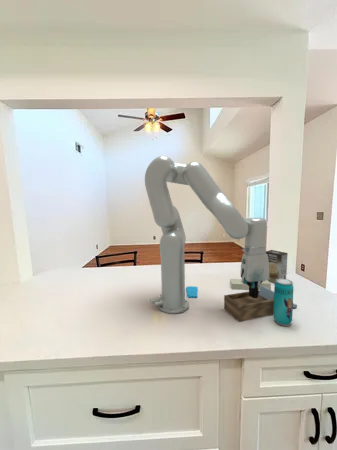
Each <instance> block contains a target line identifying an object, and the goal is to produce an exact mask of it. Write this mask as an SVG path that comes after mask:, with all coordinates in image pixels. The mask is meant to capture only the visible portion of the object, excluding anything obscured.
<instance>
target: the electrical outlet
mask: <svg viewBox="0 0 337 450" xmlns="http://www.w3.org/2000/svg"><path fill="white" fill-rule="evenodd" d="M241 280H242V278H230V279H229V285H230V287H231V290H240V291H241V290H242V291H243V290H244V291H246V290H247V291H249V286H248V285H247V284H243V283H242V282H241ZM261 286H264V287H266V288H268V289H270V290H272V282H269V281H268V280H266V281H264V282H262V283H261V284H260V287H259V288H258V290H259V291H260V288H261Z"/></svg>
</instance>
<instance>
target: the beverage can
mask: <svg viewBox="0 0 337 450" xmlns="http://www.w3.org/2000/svg"><path fill="white" fill-rule="evenodd" d="M293 284H294V283H293V281H292V280H290V279H287V278H286V279H276V282H275V283H274V288H273V289H274V290H273V291H274V315H273V320H274V322H275V323H276V324H277V325H279V326H283V327H288V326H290V325H291V324H292V321H293V309H294V307H293V303H294V285H293Z"/></svg>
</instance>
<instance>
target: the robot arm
mask: <svg viewBox="0 0 337 450" xmlns="http://www.w3.org/2000/svg"><path fill="white" fill-rule="evenodd" d="M167 183H170V184H178V185H185V186H189V187H190V188H191V190H192V191H193V193H194V194H195V195H196V196H197V198H198V199H199V200H200V202H201V203H202V204H203V206H205V208H206V209H207V210H208V211H209V212H210V213H211V214H212V215H213V217H214V218H215V220H216V221H217V222H219V224H220V225H221V226H222V228H223V229H224V232H225V233H226V234H227V235H228V236H229V237H230V238H232V239H233V240H241V239H244V248H242V252H244V253H243V254H242V257H241V263H240V279H242V280H241V282H242V283H243V284H247V285H248V286H249V290H248V292H249V296H251V297H252V298H258V288H259V287H260V284H261V283H262V282H264V281H266V280H267V279H268V278H269V260H268V255H267V254H266V251H267V233H268V232H267V230H268V221H267V219H265V218H262V217H249V218H245V217H243V216H242V214H241V213H240V211H239V210H238V209H237V208H236V207H235V205H234V204H233V202H231V200H230V199H229V198H228V197H227V194H225V192H224V191H223V190H222V188H221V187H220V186H219V185H218V184H217V183H216V181H215V180H214V179H213V177H212V176H211V175H210V173H209V172H208V171H207V169H206V167H204V165H202V163H201V162H199V161H191V162H189V163H188V164H187V163H186V164H184V163H178V162H174V161H173V159H171V158H170V157H168V156H166V155H160V156H157V157H156V158H155V157H154V159H153V160H152V161H151V162H150V163H149V165H148V166H147V168H146V170H145V173H144V186H145V190H146V195H147V197H148V201H149V206H150V208H151V212H152V215H153V220H154V223H155V224H156V225H157V226H158V227H160V228H161V232H162V235H161V237H160V240H159V254H160V271H161V273H160V274H161V275H160V277H161V283H160V284H161V294H159V296H158V297H157V298H150V302H149V303H150V305H153V304H154V306H155V307H158V309H159V310H160V311H161V312H162V313H166V314H181V313H184V312H186V311H187V310H188V309H189V306H190V303H189V301H187V299H186V287H185V285H186V281H185V280H186V275H185V273H186V271H185V270H186V269H185V268H186V267H185V266H186V264H185V244H186V241H187V240H186V238H187V237H186V233H185V230H184V227H183V223H182V218H181V215H180V213H179V210H178V208H177V207H176V206H175V205H173V201H172V198H171V194H170V191H169V188H168V184H167Z"/></svg>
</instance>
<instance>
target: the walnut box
mask: <svg viewBox="0 0 337 450" xmlns="http://www.w3.org/2000/svg"><path fill="white" fill-rule="evenodd" d="M259 291H260V290H258V294H259ZM223 296H224V297H223V299H224V300H223V304H224V305H223V310H225V311H226V312H227V313H229V314H230V315H231V316H232V317H233V318H234V319H235V320H236V321H237V322H238V323H239V322H240V323H241V322H245V321H251V320H255V319H256V320H257V319H260V318H265V317H270V316H274V299H271V300H267V299H265V298H263V297H262V296H260V295H258V298H252V297H251V296H249V291H243V292H236V293H231V294H224V295H223Z"/></svg>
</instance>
